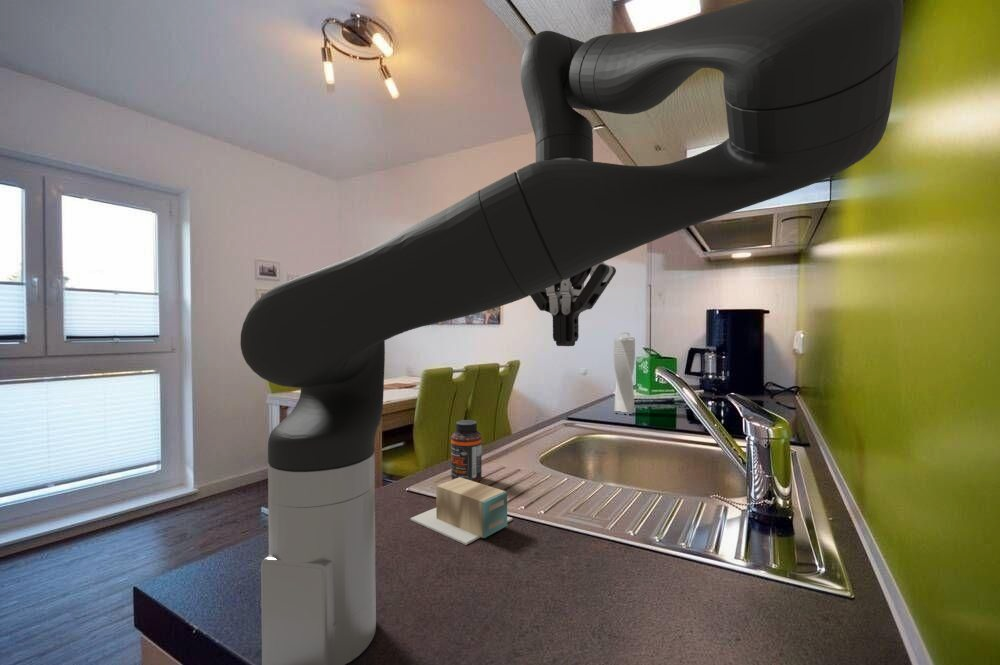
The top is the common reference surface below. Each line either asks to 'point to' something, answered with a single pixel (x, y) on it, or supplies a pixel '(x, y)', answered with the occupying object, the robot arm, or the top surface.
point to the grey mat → (445, 527)
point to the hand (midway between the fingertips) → (565, 345)
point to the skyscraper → (624, 373)
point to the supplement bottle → (466, 451)
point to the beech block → (471, 506)
